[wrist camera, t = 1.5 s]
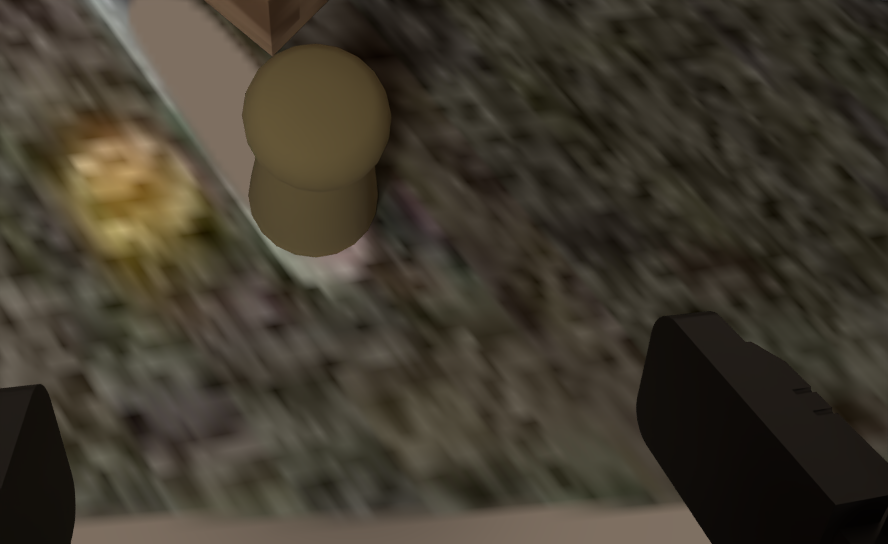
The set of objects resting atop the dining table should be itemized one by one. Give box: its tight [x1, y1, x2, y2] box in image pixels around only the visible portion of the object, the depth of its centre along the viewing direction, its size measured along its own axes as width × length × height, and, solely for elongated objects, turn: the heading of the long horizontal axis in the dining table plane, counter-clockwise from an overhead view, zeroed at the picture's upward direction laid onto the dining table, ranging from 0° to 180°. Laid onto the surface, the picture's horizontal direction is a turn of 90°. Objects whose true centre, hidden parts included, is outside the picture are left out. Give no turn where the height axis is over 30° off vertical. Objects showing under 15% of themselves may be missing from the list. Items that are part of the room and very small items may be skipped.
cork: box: [242, 44, 392, 257], centre depth 31 cm, size 6×6×11 cm
